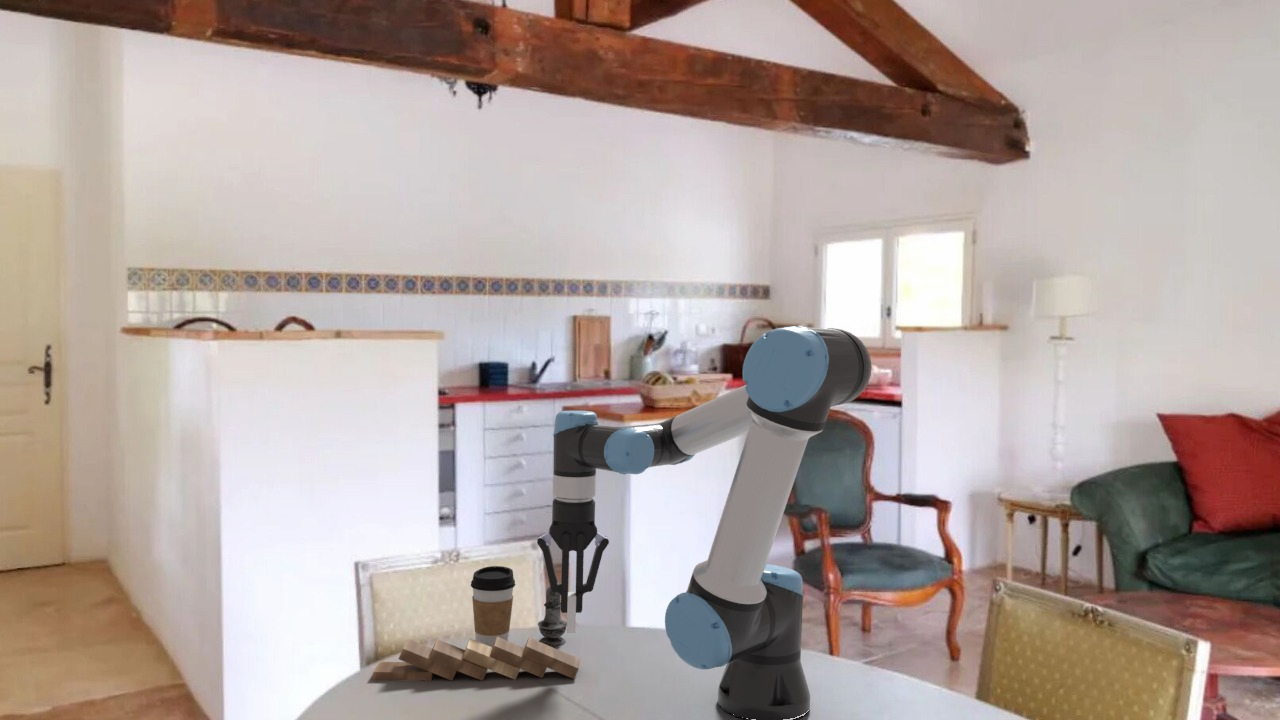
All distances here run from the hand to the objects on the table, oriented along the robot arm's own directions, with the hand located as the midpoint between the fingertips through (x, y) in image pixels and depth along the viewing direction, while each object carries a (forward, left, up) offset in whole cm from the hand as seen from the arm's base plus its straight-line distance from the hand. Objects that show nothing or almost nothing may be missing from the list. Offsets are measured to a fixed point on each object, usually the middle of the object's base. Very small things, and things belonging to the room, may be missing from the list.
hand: (570, 630), depth 167 cm
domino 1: (+19, +14, -8) cm, 25 cm away
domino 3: (+12, +9, -7) cm, 16 cm away
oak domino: (+8, +5, -7) cm, 11 cm away
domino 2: (+16, +12, -7) cm, 21 cm away
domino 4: (+4, +2, -7) cm, 8 cm away
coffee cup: (+20, -2, -8) cm, 21 cm away
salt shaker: (+13, -12, -8) cm, 20 cm away
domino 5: (-1, -1, -7) cm, 7 cm away
